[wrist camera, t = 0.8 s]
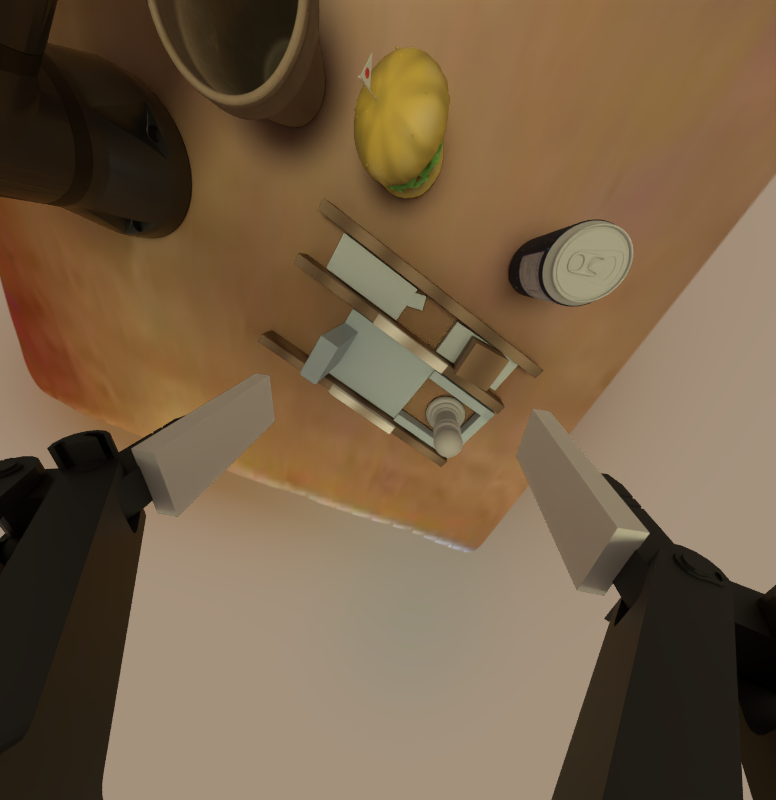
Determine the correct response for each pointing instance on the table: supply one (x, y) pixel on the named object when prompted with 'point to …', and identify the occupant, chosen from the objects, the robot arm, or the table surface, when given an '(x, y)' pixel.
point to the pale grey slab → (384, 373)
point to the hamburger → (402, 121)
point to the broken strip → (396, 295)
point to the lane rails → (393, 334)
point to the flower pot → (247, 54)
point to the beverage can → (573, 263)
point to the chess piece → (446, 425)
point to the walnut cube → (480, 363)
